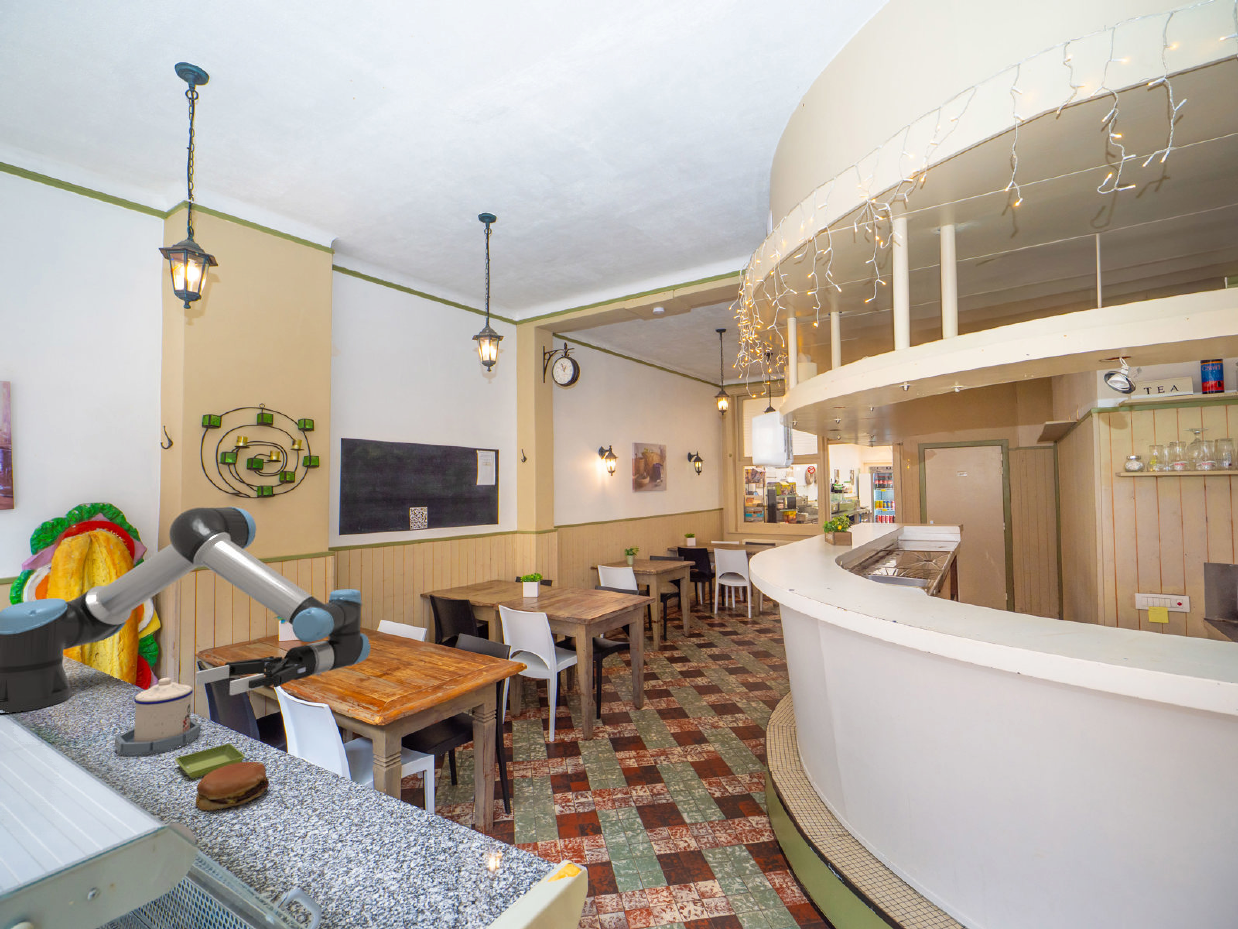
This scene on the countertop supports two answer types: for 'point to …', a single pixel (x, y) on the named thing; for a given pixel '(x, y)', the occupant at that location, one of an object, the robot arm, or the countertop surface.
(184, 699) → the teacup with lid
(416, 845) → the countertop surface
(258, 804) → the countertop surface
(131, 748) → the ashtray
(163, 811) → the countertop surface
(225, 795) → the burger
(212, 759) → the green shallow square dish
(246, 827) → the countertop surface
